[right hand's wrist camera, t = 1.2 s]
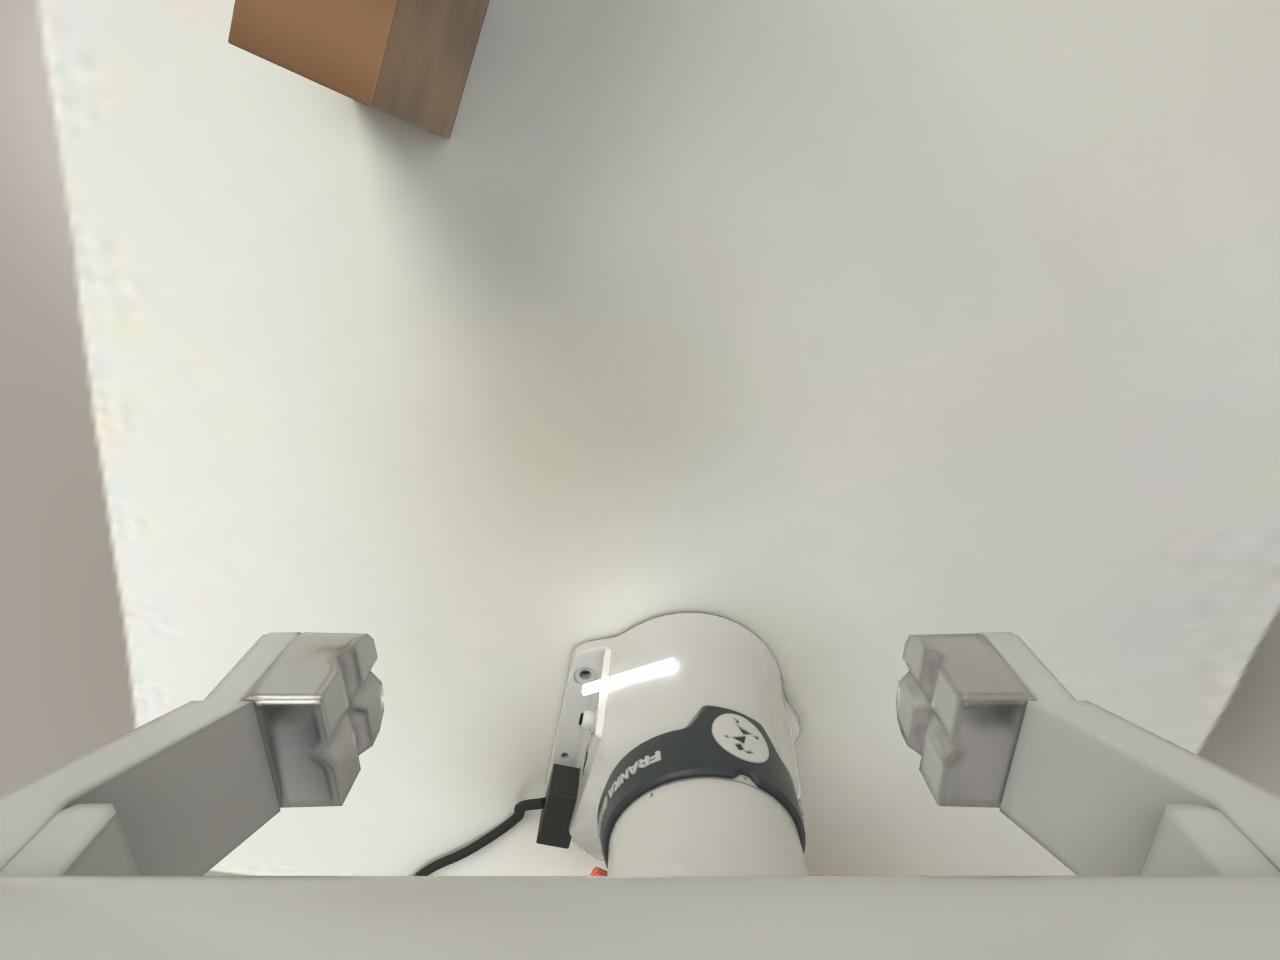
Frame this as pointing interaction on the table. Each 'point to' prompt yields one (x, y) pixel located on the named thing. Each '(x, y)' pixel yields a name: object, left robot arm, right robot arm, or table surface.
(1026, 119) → the table surface
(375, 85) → the box
